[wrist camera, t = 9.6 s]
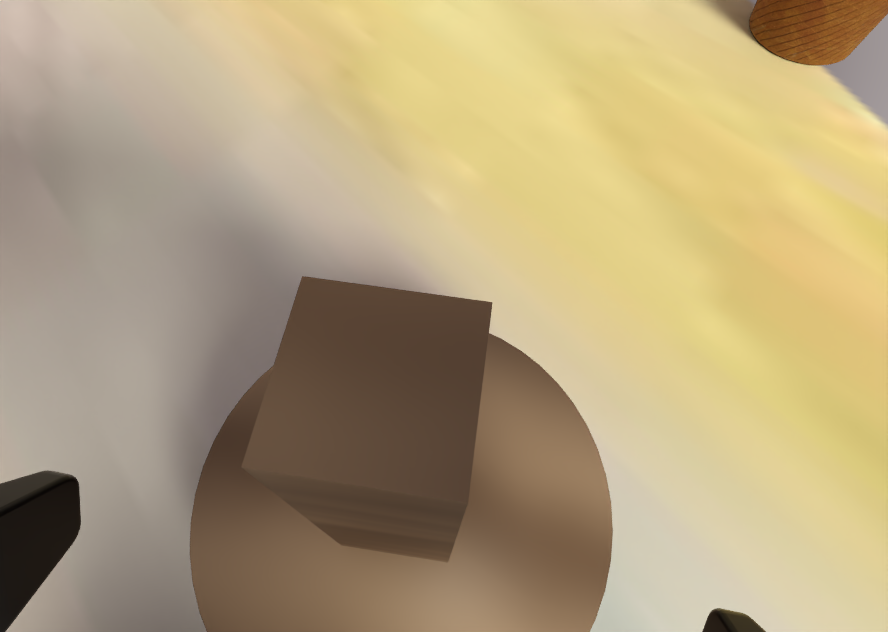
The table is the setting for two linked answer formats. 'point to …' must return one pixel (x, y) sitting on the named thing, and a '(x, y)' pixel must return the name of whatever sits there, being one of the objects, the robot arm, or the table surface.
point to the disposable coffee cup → (815, 27)
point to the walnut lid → (400, 480)
